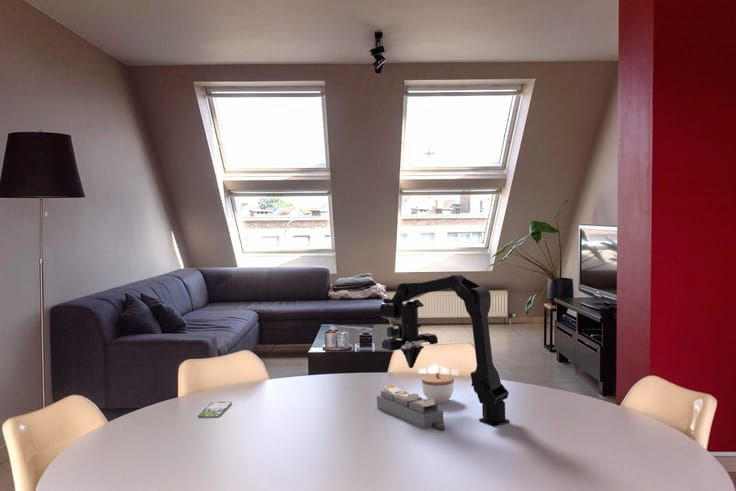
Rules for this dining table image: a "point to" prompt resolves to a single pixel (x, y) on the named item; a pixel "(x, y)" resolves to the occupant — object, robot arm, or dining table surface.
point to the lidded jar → (438, 387)
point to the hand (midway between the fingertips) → (411, 367)
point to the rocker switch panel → (411, 411)
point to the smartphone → (215, 410)
